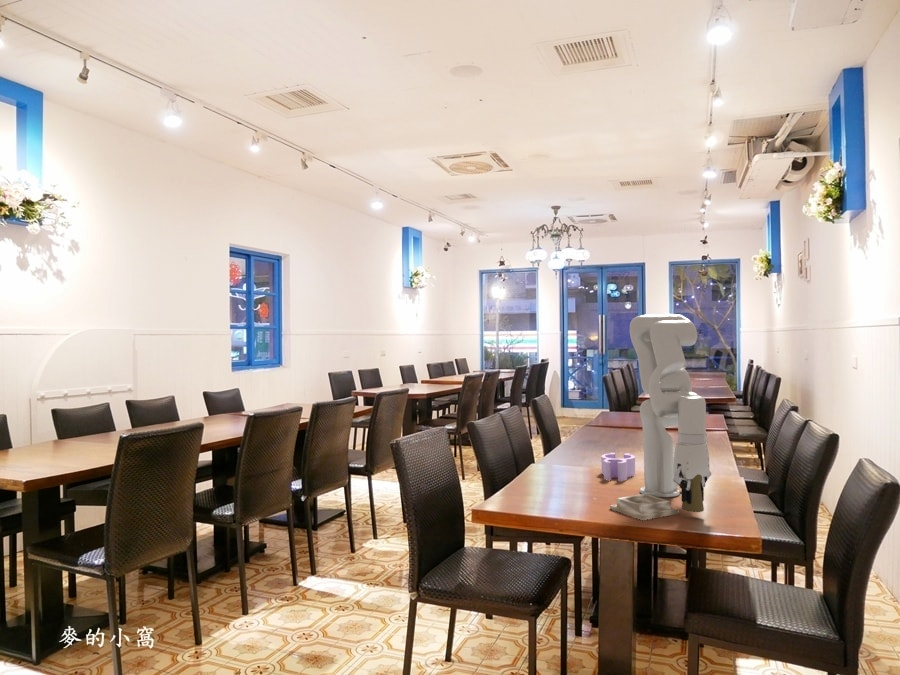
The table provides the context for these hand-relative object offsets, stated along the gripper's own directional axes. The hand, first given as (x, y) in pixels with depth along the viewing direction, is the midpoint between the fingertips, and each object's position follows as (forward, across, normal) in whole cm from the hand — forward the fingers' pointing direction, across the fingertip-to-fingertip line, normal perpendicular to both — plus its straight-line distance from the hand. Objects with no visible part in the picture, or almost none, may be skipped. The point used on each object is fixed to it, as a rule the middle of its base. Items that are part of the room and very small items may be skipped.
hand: (692, 500), depth 184 cm
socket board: (+5, +8, -12) cm, 15 cm away
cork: (+3, 0, 0) cm, 3 cm away
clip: (+7, -19, -54) cm, 58 cm away
